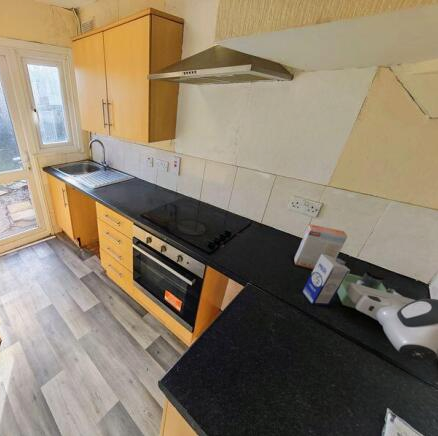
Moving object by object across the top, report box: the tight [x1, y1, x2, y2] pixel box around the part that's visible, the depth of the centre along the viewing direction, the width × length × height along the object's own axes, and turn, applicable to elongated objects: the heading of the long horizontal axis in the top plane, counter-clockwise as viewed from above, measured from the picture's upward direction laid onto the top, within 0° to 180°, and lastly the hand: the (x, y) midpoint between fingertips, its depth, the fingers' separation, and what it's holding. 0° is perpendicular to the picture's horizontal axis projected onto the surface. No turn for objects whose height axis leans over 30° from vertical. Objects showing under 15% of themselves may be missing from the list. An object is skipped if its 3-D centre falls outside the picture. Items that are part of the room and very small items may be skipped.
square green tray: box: [337, 273, 388, 310], centre depth 94 cm, size 17×18×4 cm
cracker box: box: [293, 223, 348, 271], centre depth 107 cm, size 14×6×21 cm, turn 65°
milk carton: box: [302, 254, 351, 306], centre depth 88 cm, size 7×7×20 cm
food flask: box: [361, 268, 386, 289], centre depth 91 cm, size 5×5×12 cm
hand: (374, 285), depth 88 cm, fingers open, 8 cm apart
